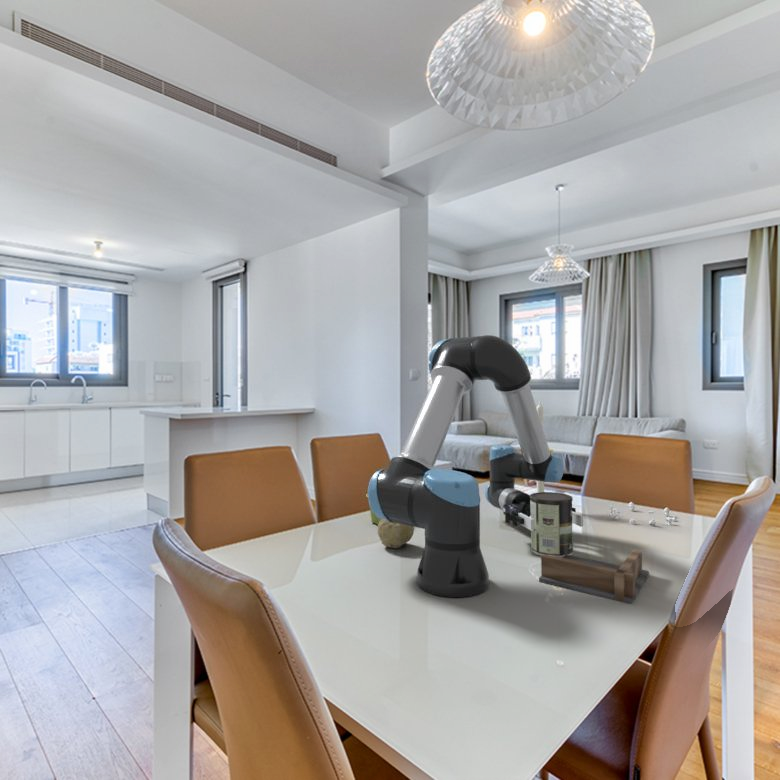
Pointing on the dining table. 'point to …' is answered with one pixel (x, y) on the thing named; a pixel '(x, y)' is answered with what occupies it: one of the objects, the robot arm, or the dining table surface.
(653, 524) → the game piece set
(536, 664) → the dining table surface
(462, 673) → the dining table surface
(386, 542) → the coral
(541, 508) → the coffee can
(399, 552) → the dining table surface
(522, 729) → the dining table surface
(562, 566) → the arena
